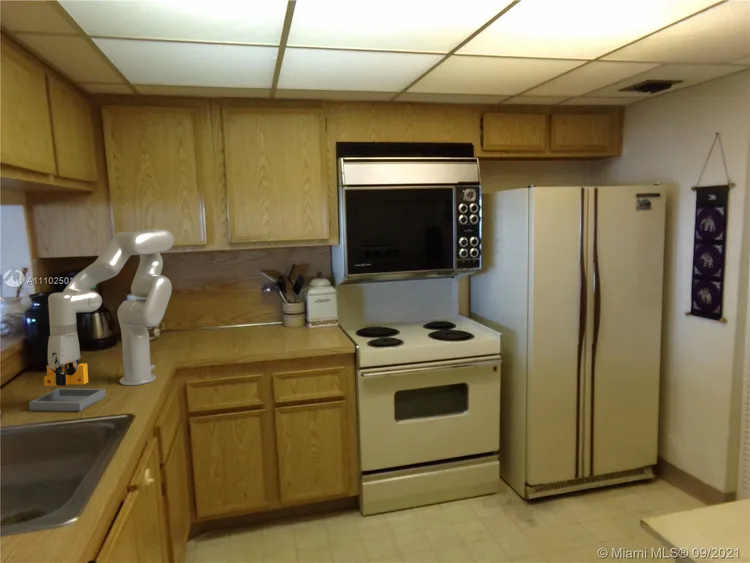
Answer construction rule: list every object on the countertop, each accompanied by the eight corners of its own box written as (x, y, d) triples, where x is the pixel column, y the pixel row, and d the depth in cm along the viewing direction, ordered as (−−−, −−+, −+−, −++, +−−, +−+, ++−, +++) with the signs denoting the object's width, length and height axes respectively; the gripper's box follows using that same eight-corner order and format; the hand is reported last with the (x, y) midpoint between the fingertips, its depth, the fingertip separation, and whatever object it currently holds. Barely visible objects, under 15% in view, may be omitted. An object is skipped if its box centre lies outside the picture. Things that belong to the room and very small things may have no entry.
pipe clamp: (44, 386, 166) (43, 367, 165) (52, 382, 170) (51, 363, 169) (81, 385, 166) (80, 366, 165) (88, 382, 170) (87, 363, 170)
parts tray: (59, 396, 176) (58, 388, 176) (105, 397, 176) (104, 389, 175) (29, 411, 163) (28, 402, 162) (80, 412, 162) (79, 403, 161)
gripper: (69, 324, 175) (72, 375, 177) (34, 334, 158) (37, 390, 160) (90, 325, 174) (93, 375, 176) (56, 335, 158) (60, 391, 159)
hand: (66, 382), depth 168 cm, fingers closed on pipe clamp, 4 cm apart
